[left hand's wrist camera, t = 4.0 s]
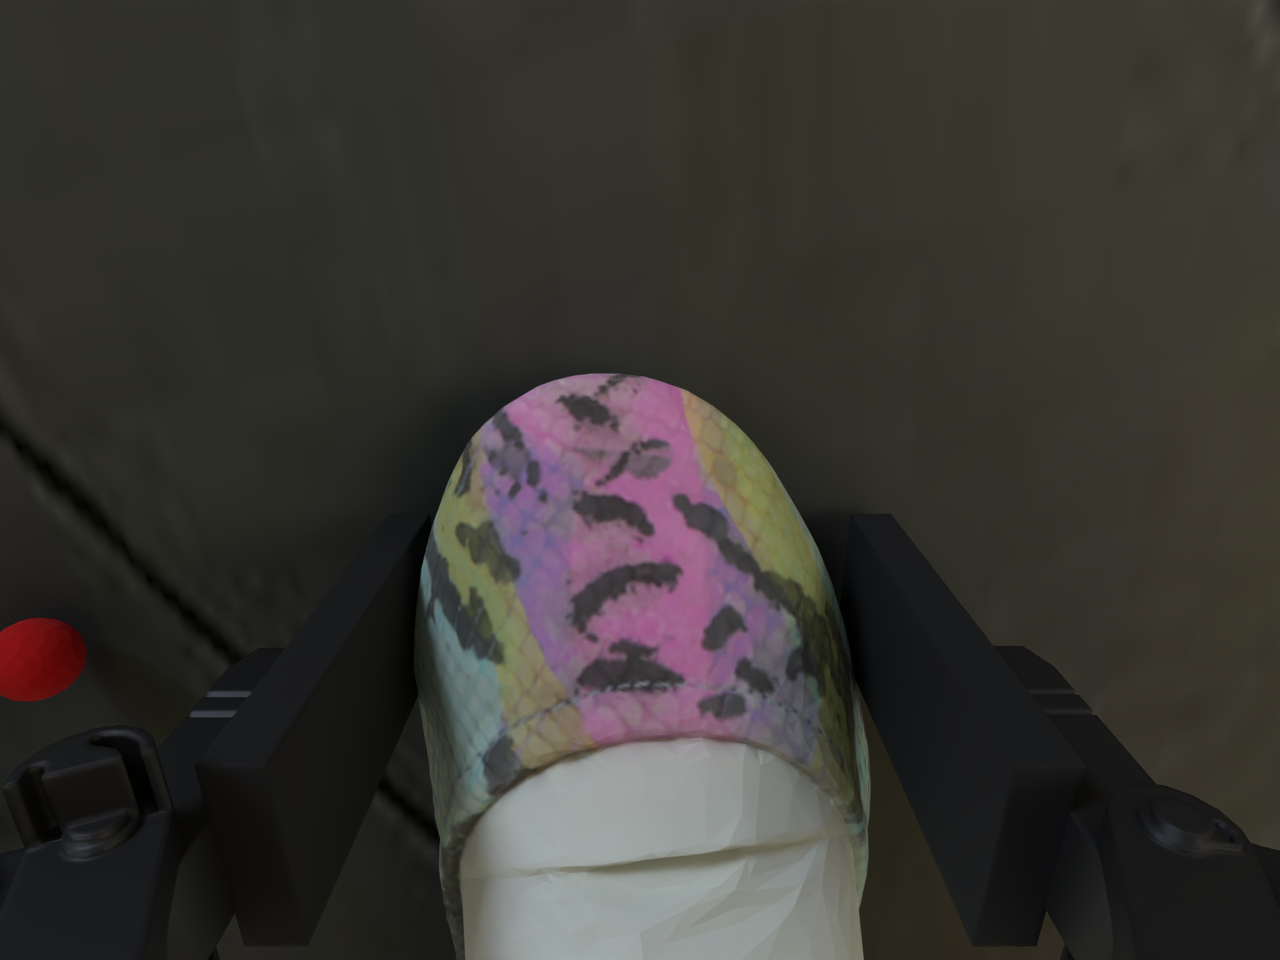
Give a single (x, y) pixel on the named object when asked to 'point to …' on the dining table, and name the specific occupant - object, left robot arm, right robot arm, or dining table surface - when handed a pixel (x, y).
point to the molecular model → (39, 658)
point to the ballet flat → (636, 692)
